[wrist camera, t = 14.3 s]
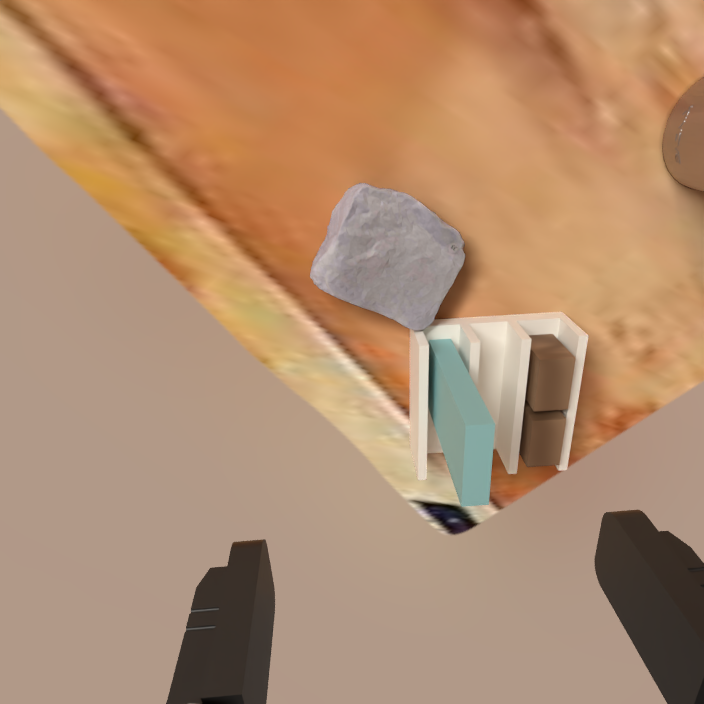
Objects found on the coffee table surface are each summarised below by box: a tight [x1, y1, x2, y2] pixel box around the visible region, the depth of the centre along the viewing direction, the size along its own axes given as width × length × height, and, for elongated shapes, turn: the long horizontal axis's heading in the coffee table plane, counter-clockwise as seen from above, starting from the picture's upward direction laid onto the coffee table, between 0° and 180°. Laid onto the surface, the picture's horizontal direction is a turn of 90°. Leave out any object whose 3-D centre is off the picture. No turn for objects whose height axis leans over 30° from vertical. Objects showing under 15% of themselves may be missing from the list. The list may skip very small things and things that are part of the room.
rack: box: [410, 312, 588, 480], centre depth 50 cm, size 14×14×6 cm
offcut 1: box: [525, 334, 576, 411], centre depth 47 cm, size 3×5×5 cm, turn 3°
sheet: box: [428, 339, 495, 506], centre depth 43 cm, size 2×7×14 cm, turn 3°
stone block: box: [310, 183, 465, 331], centre depth 45 cm, size 12×5×10 cm
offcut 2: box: [519, 399, 566, 467], centre depth 50 cm, size 3×5×5 cm, turn 3°
